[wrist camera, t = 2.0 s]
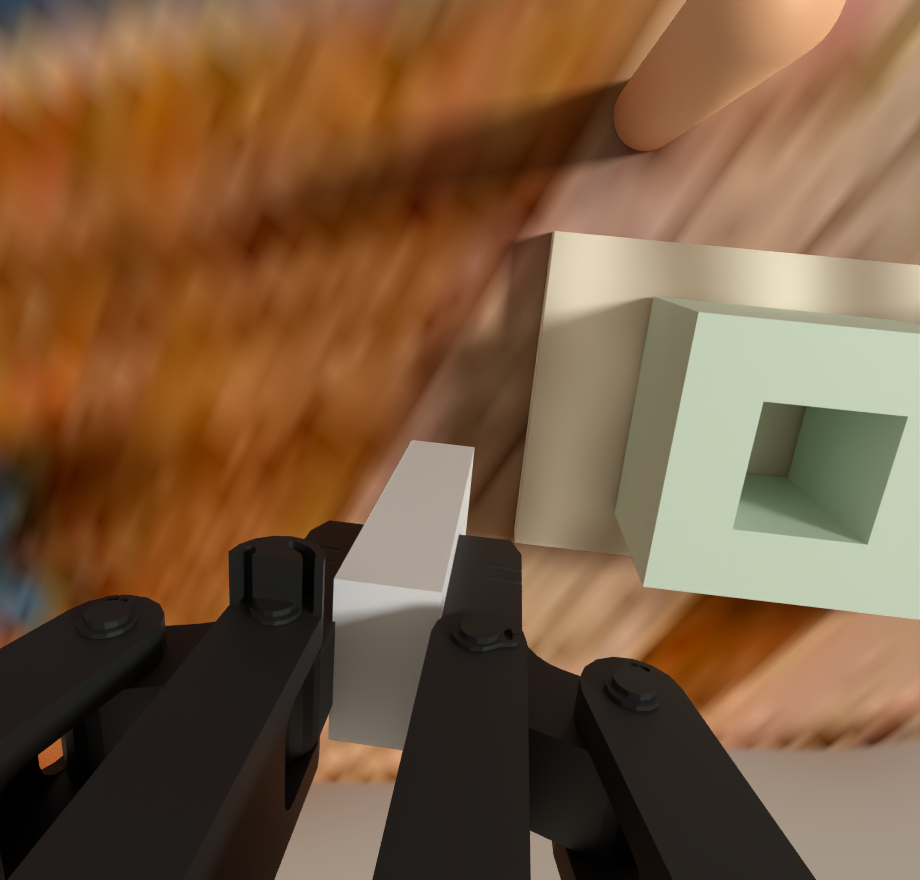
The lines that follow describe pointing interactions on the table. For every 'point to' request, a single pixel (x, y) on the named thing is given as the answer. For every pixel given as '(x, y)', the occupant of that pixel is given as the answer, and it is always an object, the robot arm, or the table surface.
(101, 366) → the table surface
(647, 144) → the dowel
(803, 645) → the table surface
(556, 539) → the beige l-shaped bracket
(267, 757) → the robot arm
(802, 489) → the block
